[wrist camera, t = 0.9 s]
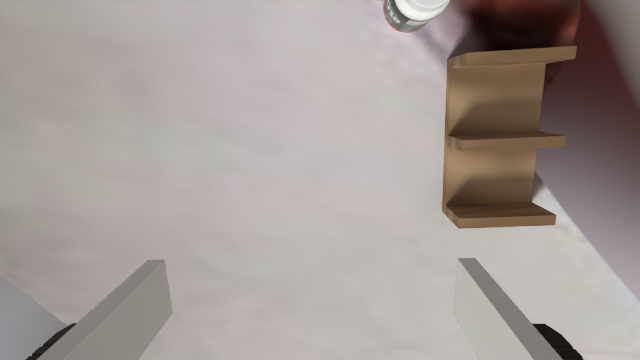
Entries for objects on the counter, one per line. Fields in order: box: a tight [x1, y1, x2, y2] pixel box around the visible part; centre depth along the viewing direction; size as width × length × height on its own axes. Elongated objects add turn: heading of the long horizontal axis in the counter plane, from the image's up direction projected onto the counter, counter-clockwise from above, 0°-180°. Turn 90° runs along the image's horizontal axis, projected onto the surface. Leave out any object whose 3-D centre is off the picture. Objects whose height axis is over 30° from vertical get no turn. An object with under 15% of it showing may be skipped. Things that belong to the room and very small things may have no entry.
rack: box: [442, 46, 577, 228], centre depth 32 cm, size 16×9×5 cm, turn 3°
